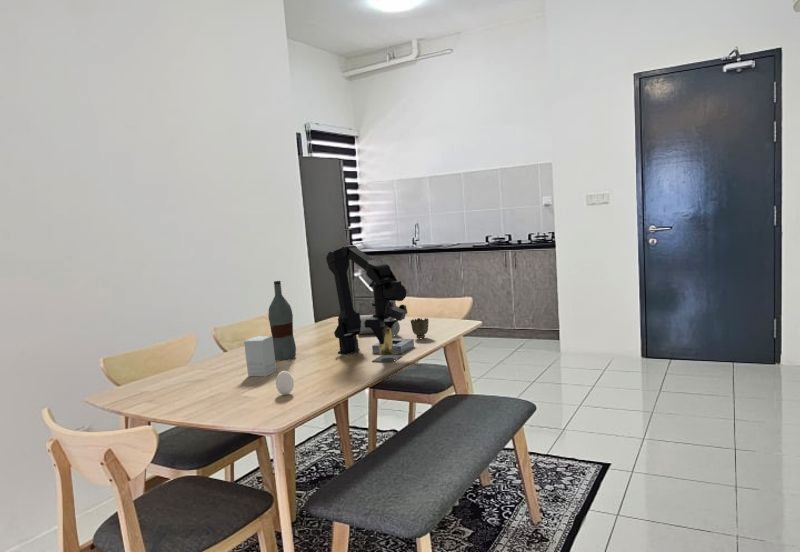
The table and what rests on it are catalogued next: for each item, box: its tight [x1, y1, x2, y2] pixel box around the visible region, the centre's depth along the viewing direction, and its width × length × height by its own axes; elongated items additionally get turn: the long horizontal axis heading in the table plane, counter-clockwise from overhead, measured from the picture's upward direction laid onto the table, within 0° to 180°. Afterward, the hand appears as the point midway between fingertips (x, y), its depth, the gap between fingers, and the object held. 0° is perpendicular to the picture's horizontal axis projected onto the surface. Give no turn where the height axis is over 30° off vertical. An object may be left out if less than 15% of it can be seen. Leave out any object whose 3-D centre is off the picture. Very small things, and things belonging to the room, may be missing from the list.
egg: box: [275, 370, 295, 396], centre depth 173 cm, size 5×5×7 cm
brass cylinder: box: [378, 326, 394, 356], centre depth 206 cm, size 5×5×10 cm
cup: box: [410, 317, 429, 339], centre depth 237 cm, size 8×7×8 cm
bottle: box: [267, 280, 297, 362], centre depth 219 cm, size 9×9×30 cm
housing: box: [371, 338, 415, 354], centre depth 220 cm, size 12×12×3 cm
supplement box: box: [243, 335, 277, 377], centre depth 200 cm, size 7×7×13 cm
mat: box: [371, 355, 403, 363], centre depth 206 cm, size 8×8×1 cm
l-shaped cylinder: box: [359, 314, 401, 337], centre depth 252 cm, size 18×11×20 cm
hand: (385, 342), depth 206 cm, fingers closed on brass cylinder, 5 cm apart
